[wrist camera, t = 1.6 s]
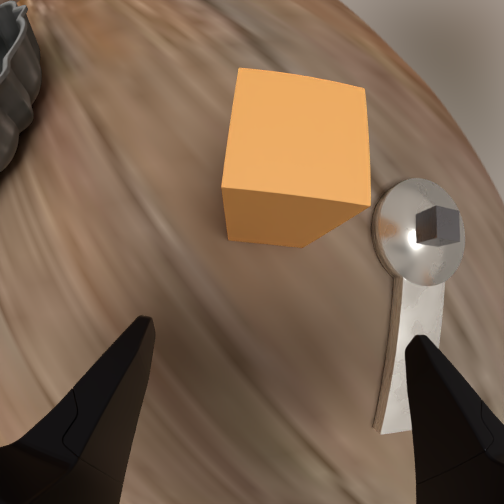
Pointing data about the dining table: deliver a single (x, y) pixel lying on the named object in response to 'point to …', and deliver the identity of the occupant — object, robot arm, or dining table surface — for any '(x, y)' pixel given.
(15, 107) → the bundt pan
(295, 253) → the dining table surface
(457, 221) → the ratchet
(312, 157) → the orange rectangular block
